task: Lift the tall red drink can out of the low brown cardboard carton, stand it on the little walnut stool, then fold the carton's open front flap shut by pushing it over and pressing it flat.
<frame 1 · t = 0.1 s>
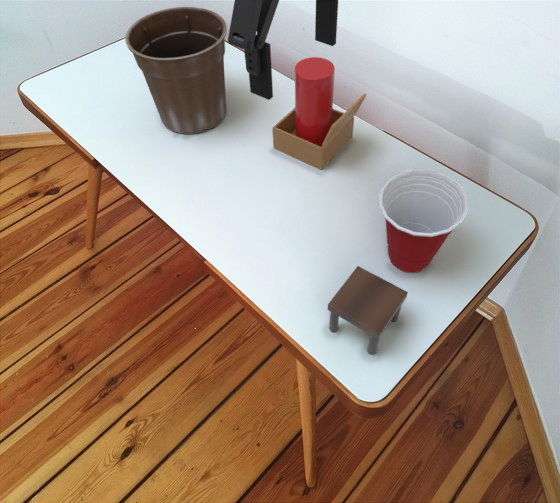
hand: (295, 67, 63), 23 cm above the table, tool pointing down, fingers open, 13 cm apart
can: (313, 141, 89), resting on carton
stool: (363, 323, 66), on the table
plastic cup: (407, 258, 73), on the table
carton: (313, 143, 89), on the table
plant pot: (192, 115, 95), on the table
flap: (344, 119, 81), point 7 cm above the table, hinge at 110.0°
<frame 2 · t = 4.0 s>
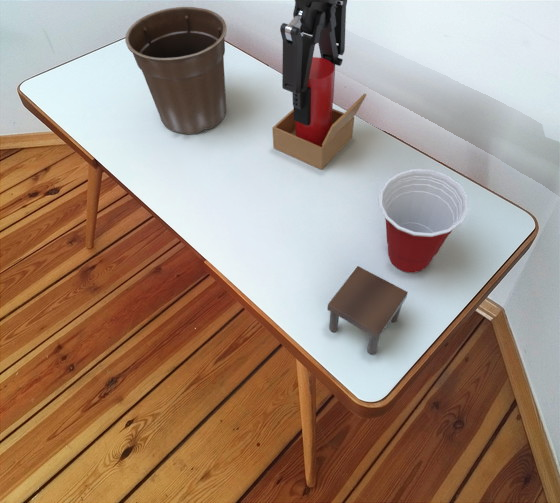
hand: (313, 110, 84), 7 cm above the table, tool pointing down, fingers closed on can, 6 cm apart
can: (313, 141, 89), resting on carton, touching gripper
everything else where it was.
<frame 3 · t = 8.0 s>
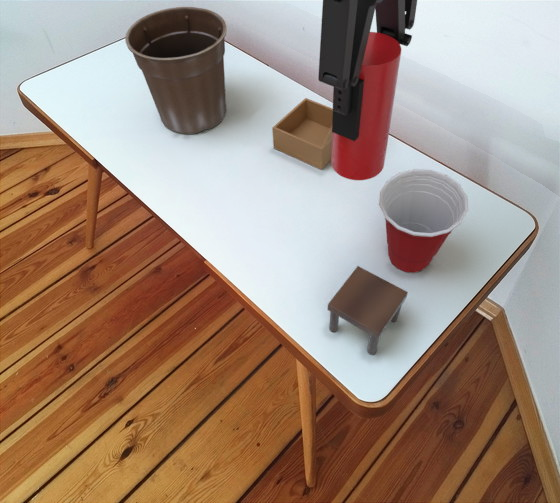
hand: (362, 117, 54), 24 cm above the table, tool pointing down, fingers closed on can, 6 cm apart
can: (357, 162, 59), point 18 cm above the table, touching gripper
everything else where it was.
when the fingers open (12 cm above the table, at t = 12.1 s): can stays where it is, resting on stool.
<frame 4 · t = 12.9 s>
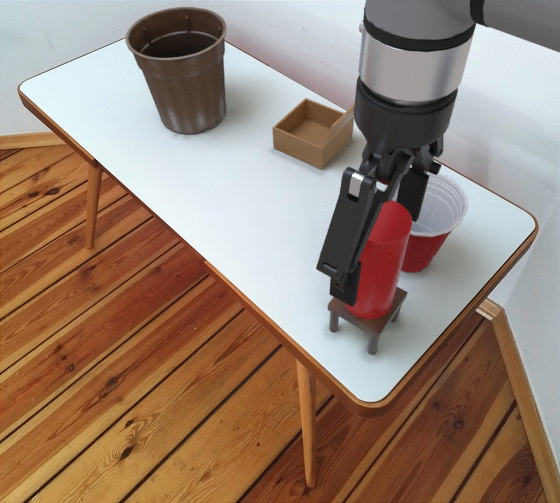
hand: (376, 254, 55), 15 cm above the table, tool pointing down, fingers open, 13 cm apart
can: (367, 297, 62), point 6 cm above the table, touching stool
everything else where it was.
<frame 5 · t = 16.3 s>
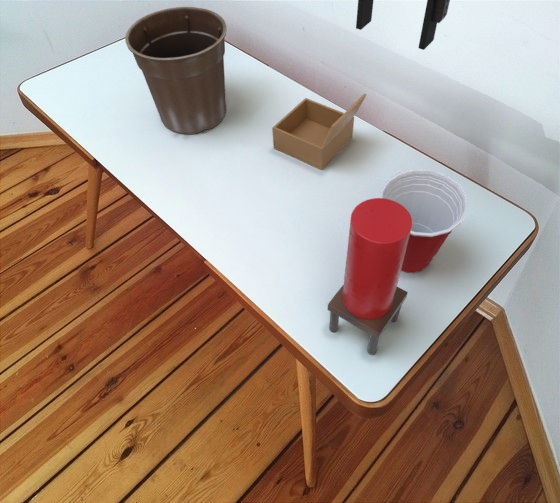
hand: (394, 34, 66), 23 cm above the table, tool pointing down, fingers open, 8 cm apart
nothing on the table moved.
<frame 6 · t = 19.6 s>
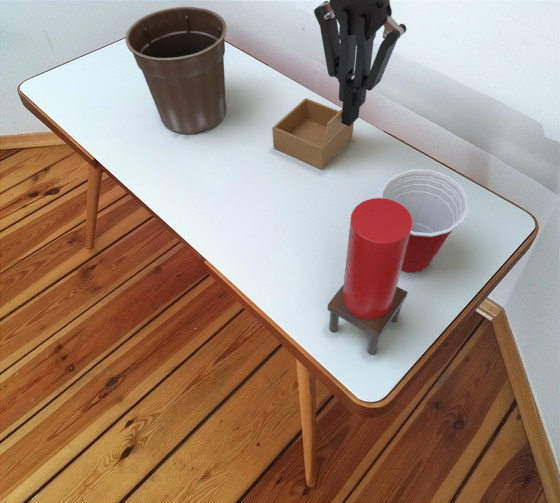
hand: (350, 120, 80), 8 cm above the table, tool pointing down, fingers closed
flap: (342, 118, 81), point 7 cm above the table, hinge at 100.4°, touching gripper
everything else where it was.
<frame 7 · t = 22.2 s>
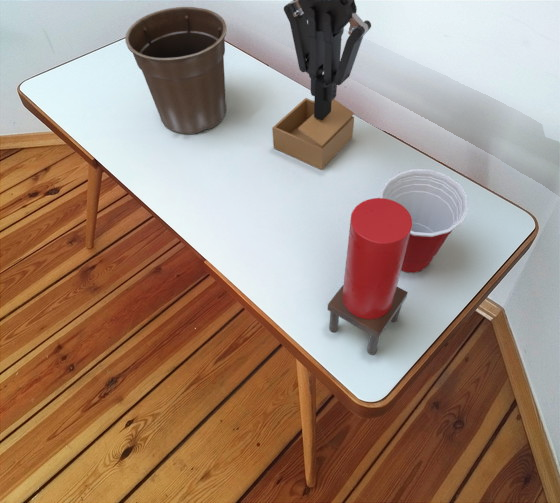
hand: (322, 114, 83), 7 cm above the table, tool pointing down, fingers closed
flap: (326, 121, 83), point 6 cm above the table, hinge at 16.4°, touching gripper
everything else where it was.
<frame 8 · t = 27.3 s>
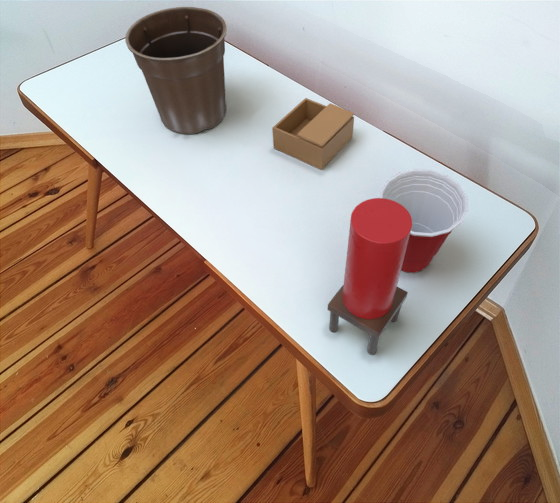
flap: (326, 124, 84), point 5 cm above the table, hinge at 1.1°
everything else where it was.
at the end: can 0.1 cm off-centre on the stool, point 6.0 cm above the stool's base; can tilted 0°; flap at +1° (first picture: +110°) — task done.
